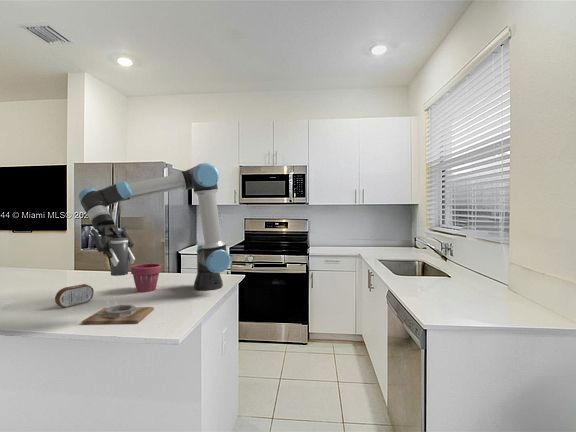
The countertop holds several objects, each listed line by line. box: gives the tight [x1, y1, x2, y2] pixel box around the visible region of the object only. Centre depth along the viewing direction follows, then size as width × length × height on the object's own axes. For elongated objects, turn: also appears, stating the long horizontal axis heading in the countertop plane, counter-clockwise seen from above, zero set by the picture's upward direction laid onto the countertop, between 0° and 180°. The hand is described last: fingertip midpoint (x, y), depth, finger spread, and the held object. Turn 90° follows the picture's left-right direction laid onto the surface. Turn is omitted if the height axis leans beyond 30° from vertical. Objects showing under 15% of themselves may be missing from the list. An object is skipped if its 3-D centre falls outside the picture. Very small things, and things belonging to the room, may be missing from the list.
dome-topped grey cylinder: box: [109, 238, 129, 277], centre depth 126 cm, size 6×6×14 cm
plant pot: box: [130, 263, 162, 293], centre depth 167 cm, size 14×14×13 cm
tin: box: [54, 283, 95, 308], centre depth 141 cm, size 15×3×8 cm, turn 151°
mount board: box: [81, 304, 155, 325], centre depth 126 cm, size 20×16×3 cm
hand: (125, 262), depth 124 cm, fingers closed on dome-topped grey cylinder, 6 cm apart
